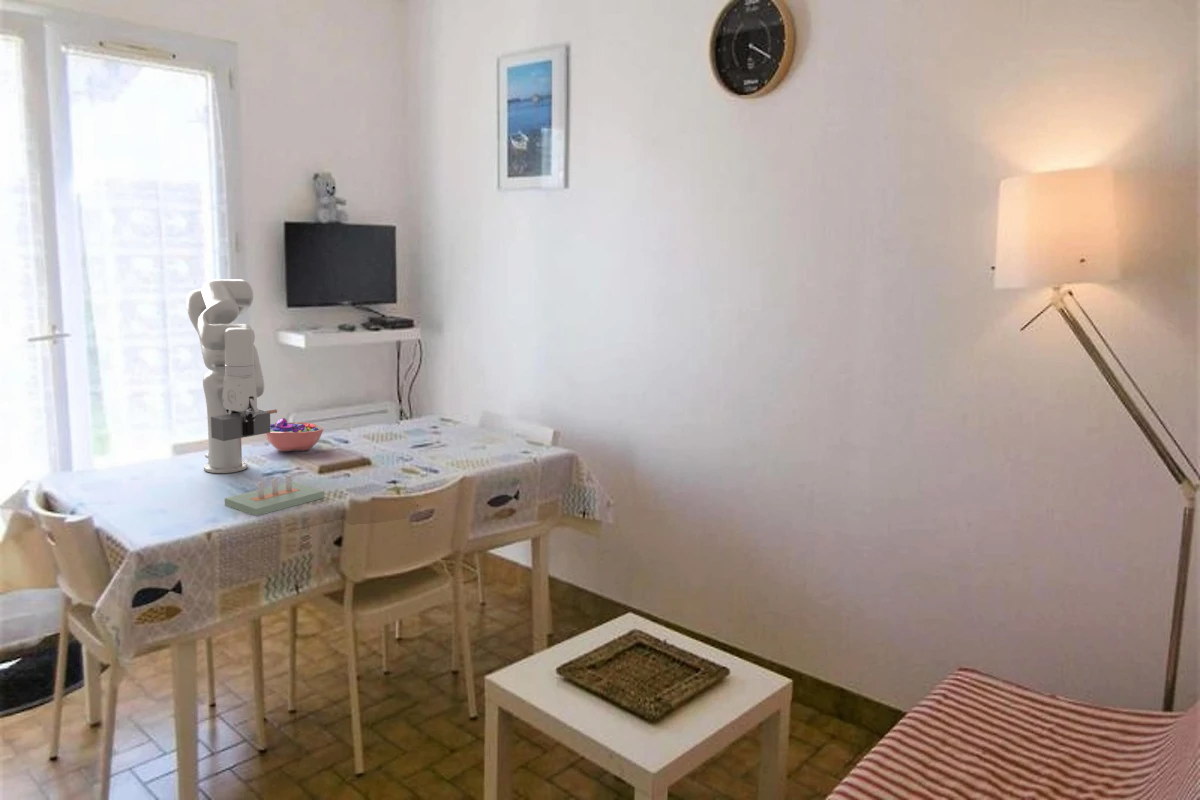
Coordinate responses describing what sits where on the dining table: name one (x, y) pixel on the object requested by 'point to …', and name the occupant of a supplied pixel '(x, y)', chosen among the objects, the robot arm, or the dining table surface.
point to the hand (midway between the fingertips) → (241, 432)
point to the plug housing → (239, 425)
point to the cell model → (293, 435)
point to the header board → (274, 497)
